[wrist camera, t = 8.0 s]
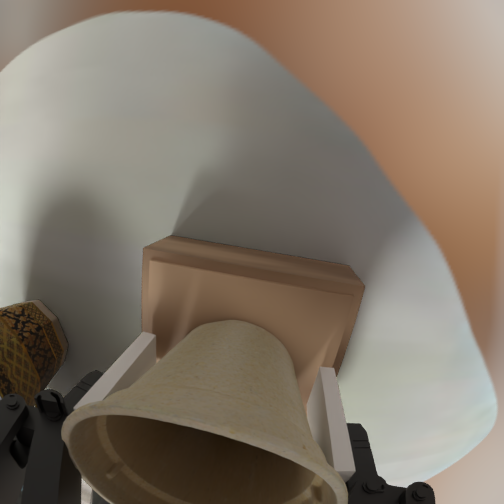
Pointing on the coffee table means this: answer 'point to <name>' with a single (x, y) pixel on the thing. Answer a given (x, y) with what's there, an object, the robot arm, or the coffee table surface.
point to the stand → (251, 299)
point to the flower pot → (206, 428)
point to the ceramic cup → (29, 349)
